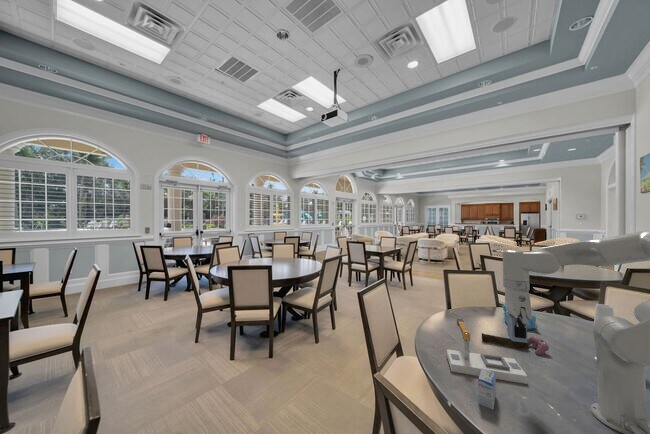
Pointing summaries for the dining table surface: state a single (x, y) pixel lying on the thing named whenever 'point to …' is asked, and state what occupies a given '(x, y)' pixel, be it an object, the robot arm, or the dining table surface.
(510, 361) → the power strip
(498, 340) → the hand tool
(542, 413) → the dining table surface
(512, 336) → the blue rectangular block
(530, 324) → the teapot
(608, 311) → the champagne flute
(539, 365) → the dining table surface
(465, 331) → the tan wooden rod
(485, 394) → the medicine box
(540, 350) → the video game controller
